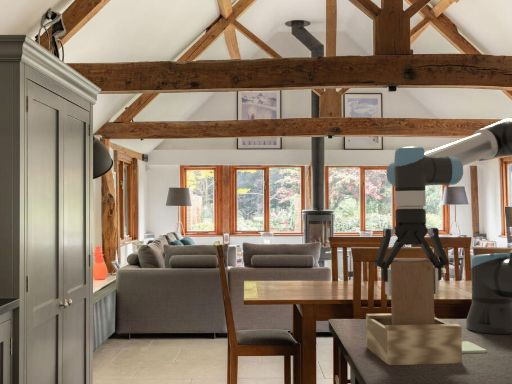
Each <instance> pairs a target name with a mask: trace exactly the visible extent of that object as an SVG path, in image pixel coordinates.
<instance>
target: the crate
mask: <svg viewBox="0 0 512 384" xmlns="http://www.w3.org/2000/svg"><path fill="white" fill-rule="evenodd" d="M365 325H366V326H365V335H366V336H365V337H366V338H365V343H366V344H365V347H366V349H368V350H369V351H370V352H371V353H373V354H374V355H375V356H377V357H378V358H379V359H381V360H382V361H383V362H385V364H387V365H388V366H403V365H404V366H409V365H434V364H435V365H441V364H443V365H444V364H463V353H462V342H463V341H462V340H463V336H462V335H463V334H462V333H463V332H462V329H463V327H462V325H460V324H458V323H450V322H449V323H448V322H447V321H444V320H442V319H440V318H437V317H436V315H435V313H434V324H428V325H392V315H391V313H365Z"/></svg>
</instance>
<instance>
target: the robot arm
mask: <svg viewBox="0 0 512 384" xmlns="http://www.w3.org/2000/svg"><path fill="white" fill-rule="evenodd" d="M425 151H426V150H425V148H424V147H422V146H403V147H398V148H397V149H395V151H394V161H393V162H391V163H390V164H389V165H388V166H387V168H386V179H387V181H388V183H389V184H390V185H391V186H393V187H394V203H395V204H394V205H395V207H396V209H395V210H394V211H395V212H394V215H395V217H394V219H395V222H394V223H395V226H394V228H386V227H385V228H384V229H383V230H382V239H381V241H380V242H381V243H380V245H379V248H378V250H377V253H376V255H375V259H374V261H373V265H374V266H375V267H379V268H380V269H381V273H380V274H381V281H382V282H384V289H385V291H384V292H385V295H387V296H391V295H392V274H391V268H390V267H391V263H392V261H393V260H394V258H397V257H396V256H397V255H398V254H399V252H400V250H401V249H402V248H403V247H404V246H405V245H406V246H410V245H418V246H419V247H420V248H421V250H422V251H423V253H424V254H425V255H426V258H427V259H429V260H430V261H431V262H432V263H433V275H434V295H439V281H441V280H442V269H443V268H444V266H448V265H449V264H450V262H449V259H448V257H447V254H446V251H445V249H444V247H443V244H442V241H441V239H440V237H439V233H440V232H439V228H437V227H431V228H429V227H427V225H426V224H427V213H426V212H427V210H426V209H425V208H424V207H426V206H427V203H426V197H427V196H426V186H428V187H429V186H451V185H456V184H458V183H460V181H462V179H463V176H464V166H467V165H469V164H472V163H474V162H477V161H479V160H484V161H485V160H488V161H489V160H492V159H494V158H501V157H508V156H510V157H512V117H507V118H503V119H502V120H500V121H497V122H495V123H492V124H490V125H487V126H484V127H482V128H480V129H476V131H474V133H473V134H472V135H470V136H468V137H464V138H461V139H459V140H456V141H454V142H451V143H448V144H445V145H442V146H439V147H437V148H434V149H432V150H428V151H426V152H425ZM427 234H428V236H429V237H430V240H431V242H432V243H431V244H432V245H433V248H434V251H435V252H436V254H435V252H434V251H433V250H432V248H431V247H430V245H429V243H428V242H427V240H426V239H425V237H426V236H427ZM394 235H395V236H396V237H397V238H396V240H395V242H394V243H393V246H392V247H391V249H390V250H389V251H388V253H387V250H388V248H389V244H390V242H391V239H392V237H393V236H394ZM386 253H387V254H386ZM470 275H471V278H470V279H471V282H470V283H471V305H470V307H469V311H468V314H467V317H466V320H465V327H466V329H467V330H469V331H473V332H477V333H484V334H492V335H493V334H494V335H511V334H512V249H511V250H510V251H509V252H500V253H485V254H476V255H473V257H472V259H471V267H470Z"/></svg>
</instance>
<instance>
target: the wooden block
mask: <svg viewBox="0 0 512 384" xmlns="http://www.w3.org/2000/svg"><path fill="white" fill-rule="evenodd" d="M433 267H434V265H433V263H432V262H431V261H430V259H429V258H428V257H395V258H394V260H393V261H392V263H391V264H390V269H391V274H392V295H390V296H391V297H390V299H391V302H390V303H391V305H390V306H391V307H390V308H391V315H392V325H428V324H434V314H435V294H434V275H433Z"/></svg>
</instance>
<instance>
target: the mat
mask: <svg viewBox="0 0 512 384" xmlns="http://www.w3.org/2000/svg"><path fill="white" fill-rule="evenodd" d="M477 353H478V354H483V353H488V350H487V349H486V348H483V347H481V346H479V345H478V344H475V343H472V342H471V341H468V340H466V341H464V340H463V341H462V354H477Z"/></svg>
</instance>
